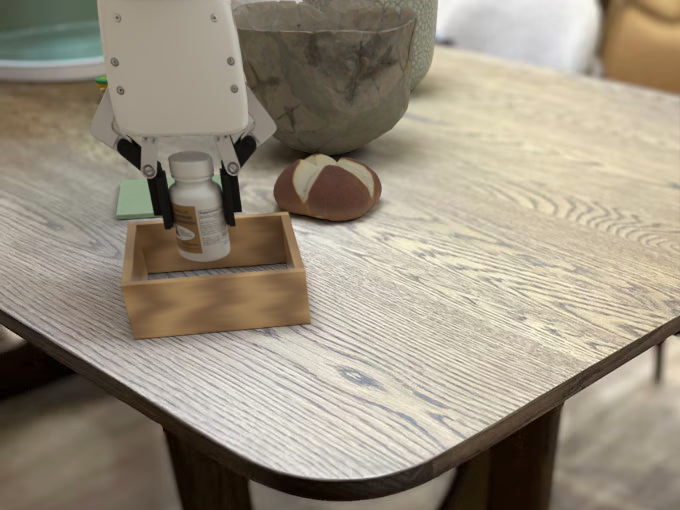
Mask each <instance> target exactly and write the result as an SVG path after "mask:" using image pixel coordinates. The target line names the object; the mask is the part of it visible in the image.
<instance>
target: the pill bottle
mask: <svg viewBox="0 0 680 510" xmlns="http://www.w3.org/2000/svg"><path fill="white" fill-rule="evenodd" d="M167 159H168V160H167V161H168V166H169V171H170V174H171V175H170V177H172V178H173V179H175V183H173V184H172V185H171V186H170V187H169V190H168V194H169V201H170V206H171V212H172V217H173V222H174V227H175V234H176V239H177V244H178V250H179V253H180V254H181V255H182V256H183V257H184V258H186V259H189V260H192V261H199V262H208V261H214V260H218V259H221V258H223V257H225V256H227V255H228V254H229V252H230V241H229V234H228V226H227V221H226V213H225V206H224V199H223V192H222V189H221V187H220V185H219V184H218V183H216V182H215V181H213V180H212V177H213V176H214V175H215V173H214V172H215V168H214V162H213V158H212V155H211V154H209V153H207V152H204V151H197V150H186V151H178V152H174V153H172V154H170V155H169V156H168V158H167Z"/></svg>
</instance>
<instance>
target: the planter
mask: <svg viewBox="0 0 680 510" xmlns="http://www.w3.org/2000/svg"><path fill="white" fill-rule="evenodd" d="M303 1H307V2H308V3H309V4H310V5H312V6H313V7H314V8H316V9H318V10H320V11H321V12H322V13H323V12H324V8H325V7H328V6H329V4H330V3H331V2H332V1H333V0H302V2H303ZM350 1H369V2H374V3H376V4H378V5H382V6H383V7H384V8H385V10H386V8H387V6H388V5H391V6H394V7H395V8H396V11H397V12H398V14H399V15H400V10H401V8H403V7H407V8H409V9H411V10H412V11H416V13H417V15H418V22H417V27H416V33H415V39H414V45H413V47H414V49H415V52H414V53H413V58H412V72H411V84H410V92H411V91H412V90H414V89H415V88H417V86H419V84H420V83H422V81H423V80H424V79H425V78H426V76H427V75H428V74H429V71H430V69H431V66H432V63H433V60H434V54H435V45H436V35H437V33H436V32H437V25H438V12H439V11H438V9H439V0H350Z"/></svg>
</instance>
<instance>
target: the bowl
mask: <svg viewBox="0 0 680 510" xmlns="http://www.w3.org/2000/svg"><path fill="white" fill-rule="evenodd" d="M233 13H234V18H235V23H236V27H237V32H238V39H239V45H240V51H241V57H242V64H243V71H244V77H245V82H246V83H247V85H248V86H249V87H250V89H251V90H252V91H253V93H254V94H255V95H256V97H257V98H258V99H259V100H260V102H261V103H262V104H263V106H264V107H265V108H266V110H267V111H268V112H269V114H270V115H271V116H272V118H273V119H274V121H275V123H276V131H275V133H274V134H272V135H271V137H273V138H274V139H276V140H277V141H278V142H280V143H281V144H283V145H285V146H287V147H290V148H292V149H294V150H297V151H301V152H305V153H309V154H323V155H326V156H337V155H338V156H339V155H342V154H343V155H344V154H348V153H349V152H352V151H354V150H356V149H359V148H361V147H363V146H365V145H368V144H369V143H372V142H374V141H375V140H377V139H378V138H380V137H381V136H383V135H384V134H386V133H388V132H390V131H391V130H392V129H393V128H394V127H395V126H396V125H397V124H398V123H399V122H400V121H401V119H402V118H403V117H404V115H405V114H406V112H407V110H408V107H409V103H410V95H411V94H410V92H411V91H410V84H411V72H412V58H413V53H414V52H415V49H414V47H413V45H414V39H415V33H416V27H417V22H418V15H417V13H416V11H412V10H411V9H409V8H407V7H403V8H401V10H400V15H399V14H398V12H397V11H396V8H395V7H394V6H391V5H388V6H387V8H386V10H385V8H384V7H383V6H382V5H378V4H376V3H374V2H369V1H350V0H333V1H332V2H331V3H330V4H329V6H328V7H325V8H324V12H323V13H322V12H321V11H320V10H318V9H316V8H314V7H313V6H312V5H310V4H309V3H308V2H307V1H303V0H302V1H299V2H298V3H297V2H296V0H279V1H277V0H266V1H255V2H248V3H243V4H240V5H237V6H236V7H235V8H234V9H233Z"/></svg>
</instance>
